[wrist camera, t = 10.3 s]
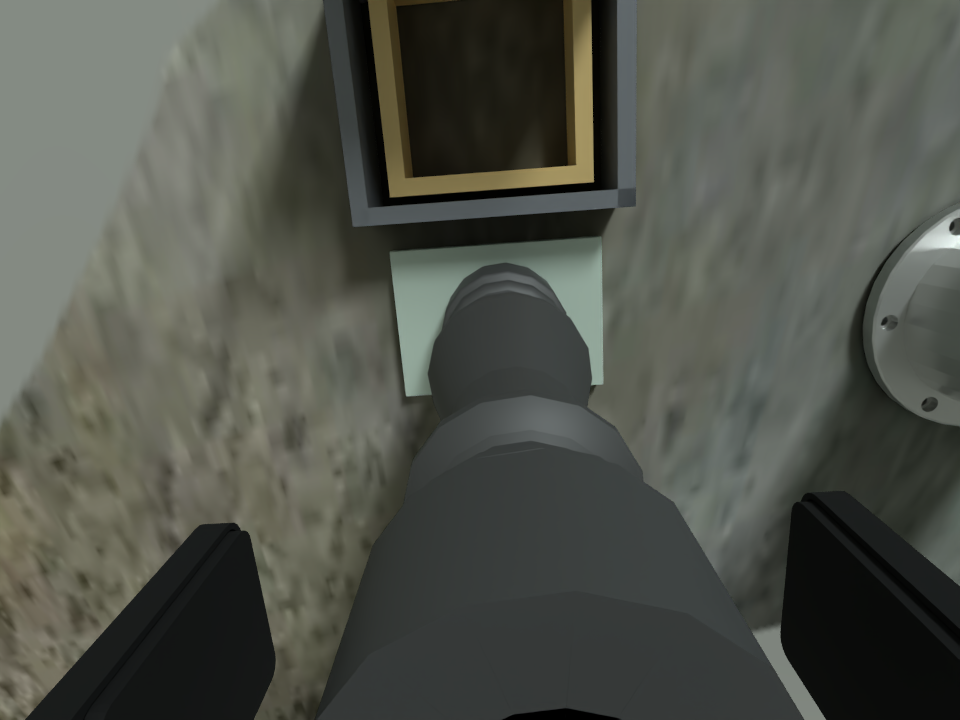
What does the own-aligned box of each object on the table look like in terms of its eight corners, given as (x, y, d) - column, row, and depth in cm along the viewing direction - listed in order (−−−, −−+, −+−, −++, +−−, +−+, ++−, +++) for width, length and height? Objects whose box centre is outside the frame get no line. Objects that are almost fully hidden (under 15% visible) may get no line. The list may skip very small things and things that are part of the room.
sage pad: (598, 235, 30) (601, 237, 29) (599, 378, 32) (603, 384, 31) (392, 250, 30) (389, 252, 29) (408, 390, 32) (406, 396, 31)
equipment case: (615, -63, 26) (748, -341, 13) (616, 204, 29) (722, 212, 16) (338, -37, 27) (181, -278, 13) (370, 223, 30) (271, 244, 16)
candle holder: (581, 291, 30) (970, 700, 6) (530, 392, 31) (666, 1042, 7) (474, 242, 29) (399, 471, 5) (428, 348, 31) (207, 900, 7)
